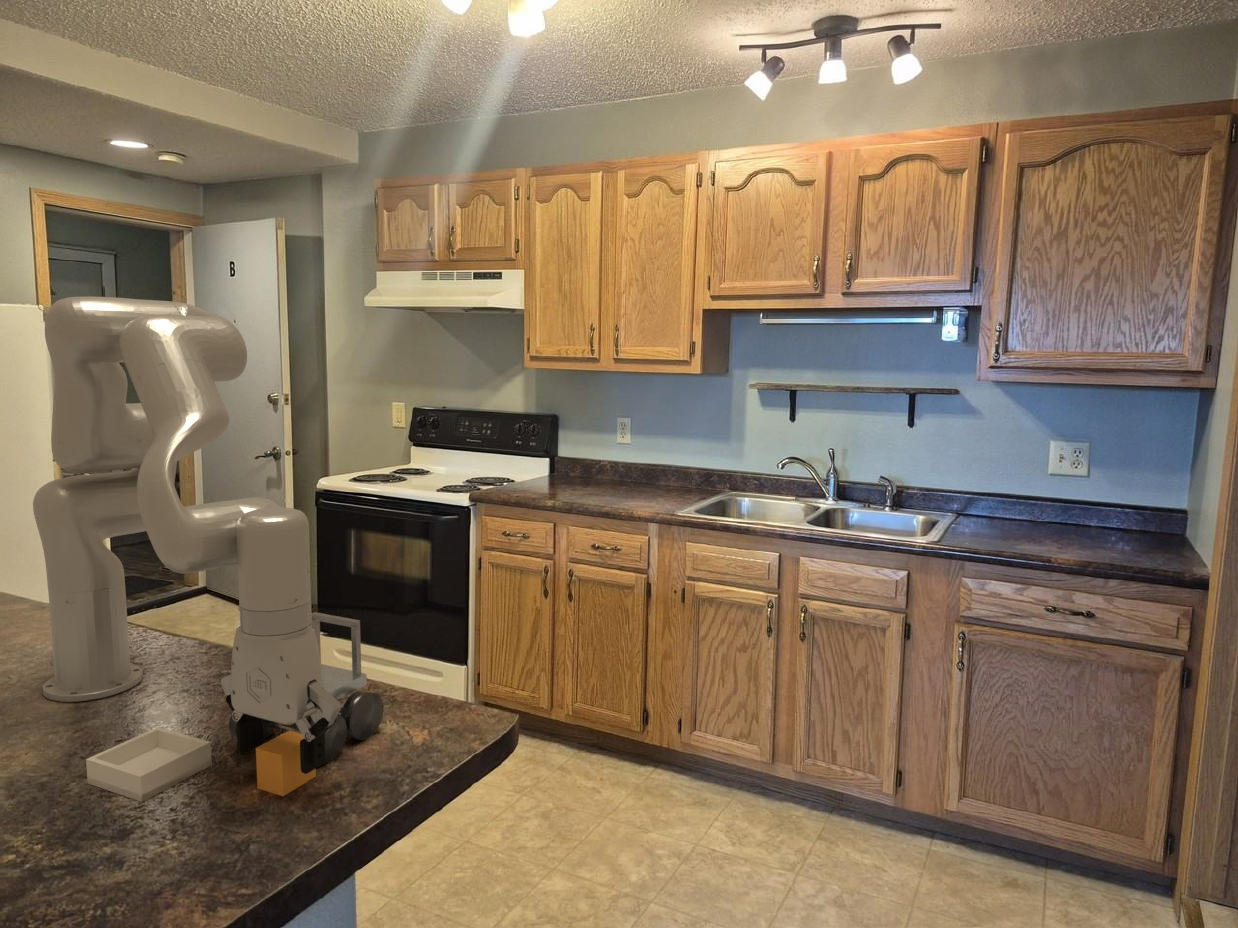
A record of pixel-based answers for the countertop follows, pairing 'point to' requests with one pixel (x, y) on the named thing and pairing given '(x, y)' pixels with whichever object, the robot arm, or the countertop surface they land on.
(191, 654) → the countertop surface
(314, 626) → the trolley
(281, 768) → the block
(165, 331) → the robot arm
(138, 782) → the tray
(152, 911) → the countertop surface
